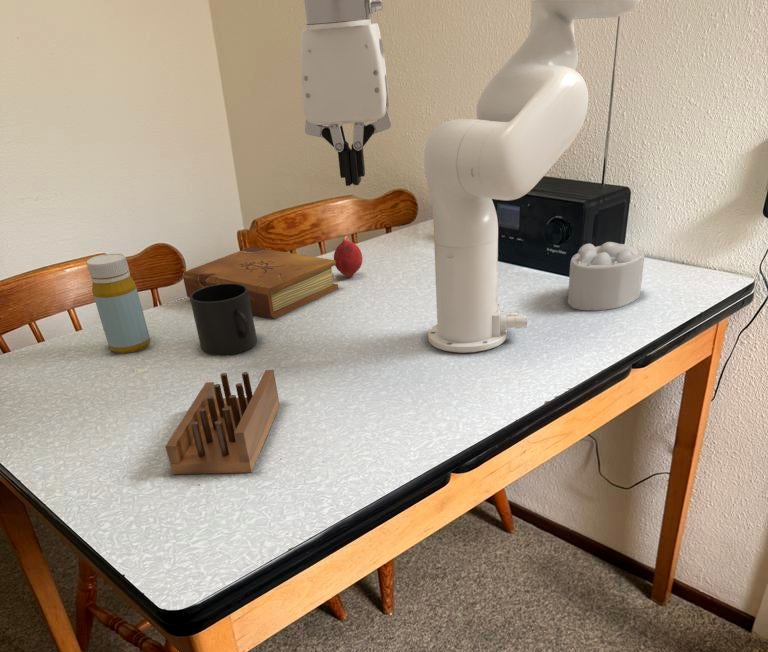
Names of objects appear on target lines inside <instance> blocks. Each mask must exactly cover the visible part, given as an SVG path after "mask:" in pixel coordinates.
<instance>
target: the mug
mask: <svg viewBox="0 0 768 652" xmlns="http://www.w3.org/2000/svg"><path fill="white" fill-rule="evenodd" d="M189 300H190V305H191V309H192V313H193V318H194V322H195V323H194V324H195V328H196V332H197V336H198V340H199V344H200V349H201V350H202V352H204V353H205V354H207V355H211V356H231V355H236V354H239V353H243V352H245V351H248V350H250V349H252V348H253V347H254V346H255V345H256V344H257V341H258V337H257V331H256V326H255V319H254V314H252V309H251V303H250V298H249V292H248V288H247V287H246V286H244V285H241V284H233V283H226V284H217V285H211V286H207V287H204V288H201V289H199V290H196V291H195V292H193V293H192V294H191V295H190V298H189Z"/></svg>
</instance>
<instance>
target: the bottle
mask: <svg viewBox="0 0 768 652" xmlns="http://www.w3.org/2000/svg"><path fill="white" fill-rule="evenodd" d="M86 266H87V267H86V268H87V270H88V273H89V275H90V279H91V282H92V286H91V287H92V288H91V291H92V296H93V299H94V303H95V305H96V309H97V312H98V315H99V319H100V322H101V326H102V329H103V332H104V335H105V339H106V342H107V345H108V348H109V349H110V350H111V351H112V352H114V353H115V354H131V353H135V352H138V351H142V350H143V349H146V347H148V345H149V343H150V341H151V337H150V333H149V329H148V326H147V322H146V318H145V314H144V310H143V307H142V303H141V299H140V295H139V292H138V288H137V285H136V282H135V280H134V279H133V277H132V276H131V273H130V272H131V271H130V269H129V264H128V261H127V257H126V255H125V254H124V253H119V252H118V253H117V252H116V253H115V252H114V253H104V254H99V255H96V256H93V257H90V258H89V259H87V260H86Z"/></svg>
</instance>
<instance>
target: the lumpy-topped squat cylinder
mask: <svg viewBox="0 0 768 652" xmlns="http://www.w3.org/2000/svg"><path fill="white" fill-rule="evenodd" d="M644 261H645V252H643V251H642V250H638V249H636V248H635V246H633V245H630V244H624V243H617V242H613V241H606V242H605V243H603V244H601V245H597V246H595V245H594V244H592V243H585V244H582V246H580V247H579V249H578V251H577V253H575V254H574V255H573V256H572V257H571V259H570V263H569V265H570V266H569V276H568V277H569V279H568V294H567V295H568V297H567V303H568V305H569V306H570V308H572V309H576V310H579V311H605V310H613V309H617V308H621V307H624V306H626V305H628V304H631V303H632V302H634V301H636V300H638V299H639V298H640V297H641V290H642V281H643V272H644Z"/></svg>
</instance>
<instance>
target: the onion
mask: <svg viewBox="0 0 768 652" xmlns="http://www.w3.org/2000/svg"><path fill="white" fill-rule="evenodd" d="M333 254H334V255H333V260H335V262H336V265H335V266H334V267H335V268H336V269H337V271H338V272H340V273H341V274H342V275H343V276H345V277H347V278H353V276H354V275H355V274H356V273H357V272H358V271H359V270H360V269H361V267H362V265H363V253H362V251H361V249H360V247H359V246H358V245H357V244H356V243H355V242H352V241H351V240H350V237H349V236H347V235H346V236H343V239H342V241H341V243H339V244H338V246H336V248H335V250H334V253H333Z"/></svg>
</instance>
